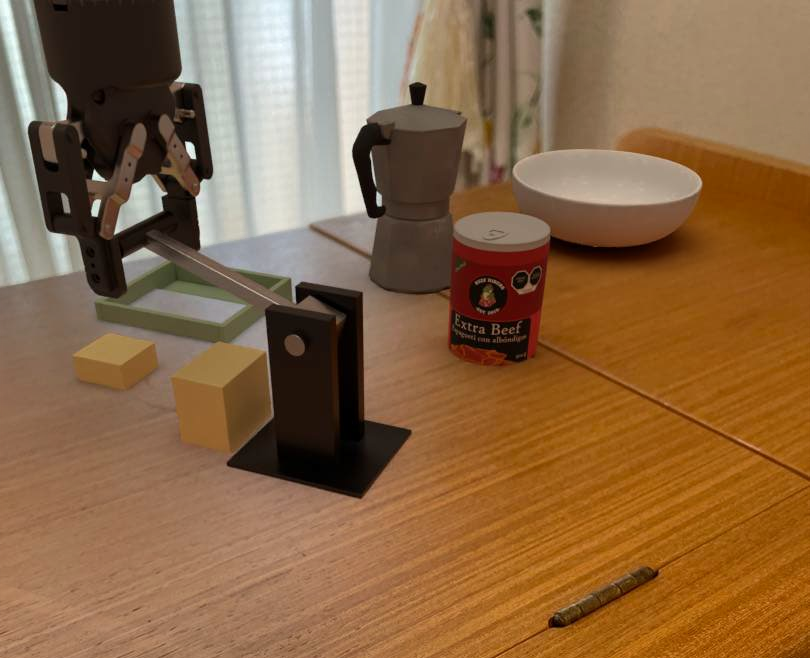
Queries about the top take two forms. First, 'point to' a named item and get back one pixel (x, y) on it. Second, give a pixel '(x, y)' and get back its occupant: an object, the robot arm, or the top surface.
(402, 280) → the coffeepot
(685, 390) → the top surface
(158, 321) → the dish
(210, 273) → the lever
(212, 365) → the butter
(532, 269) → the canned food
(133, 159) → the robot arm
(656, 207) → the serving bowl
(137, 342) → the butter pat
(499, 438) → the top surface
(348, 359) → the lever stand
